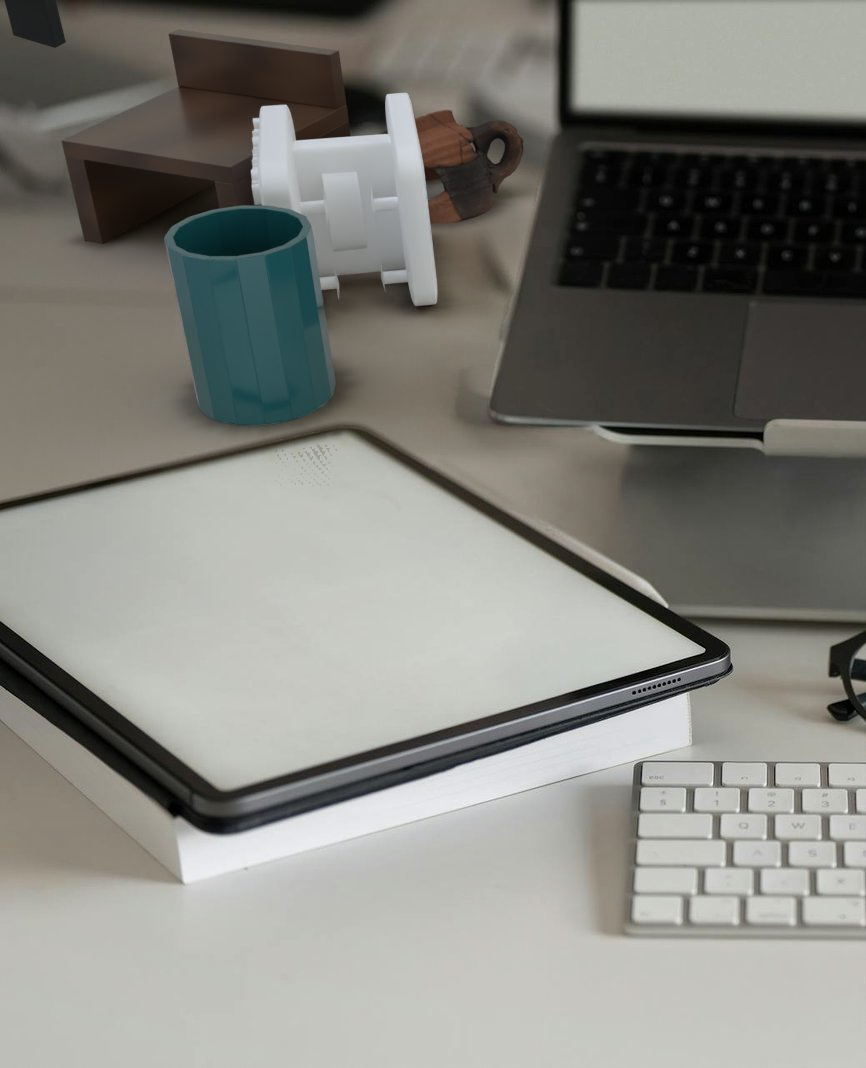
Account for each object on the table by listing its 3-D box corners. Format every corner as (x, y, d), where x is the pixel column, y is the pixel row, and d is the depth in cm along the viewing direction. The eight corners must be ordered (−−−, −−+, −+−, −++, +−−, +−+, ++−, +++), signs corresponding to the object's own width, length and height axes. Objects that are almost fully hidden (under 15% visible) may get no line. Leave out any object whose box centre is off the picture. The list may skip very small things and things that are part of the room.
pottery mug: (399, 247, 124) (351, 140, 123) (396, 255, 133) (350, 155, 132) (550, 185, 127) (504, 79, 125) (536, 197, 136) (493, 99, 134)
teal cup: (171, 419, 101) (134, 246, 95) (252, 362, 107) (222, 197, 101) (286, 443, 99) (255, 268, 93) (361, 384, 105) (337, 216, 99)
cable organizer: (443, 327, 112) (424, 157, 106) (277, 343, 110) (247, 171, 103) (427, 240, 124) (409, 83, 118) (277, 253, 122) (251, 94, 115)
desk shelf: (85, 247, 122) (47, 83, 116) (206, 182, 133) (178, 29, 127) (249, 277, 118) (220, 108, 112) (360, 207, 129) (339, 50, 123)
